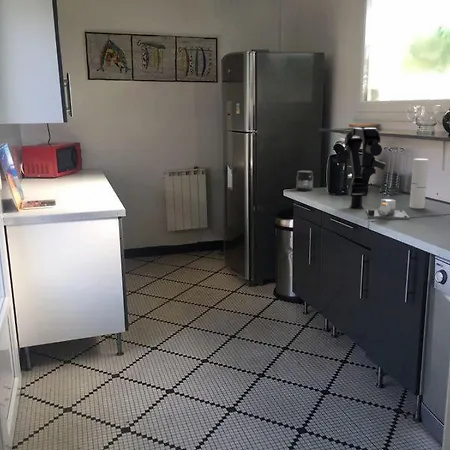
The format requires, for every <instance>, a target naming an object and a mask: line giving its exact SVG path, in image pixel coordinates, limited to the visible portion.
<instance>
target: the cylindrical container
mask: <svg viewBox="0 0 450 450" xmlns="http://www.w3.org/2000/svg"><path fill="white" fill-rule="evenodd" d="M429 160H430V159H428V158H413V161H412V162H413V163H412V174H411V185H410V186H411V187H410V195H409V196H410V197H409V208H411V209H418V210H419V209H424V208H425V202H426V191H427V182H428V181H427V180H428V172H429V171H428V170H429Z"/></svg>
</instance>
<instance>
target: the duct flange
mask: <svg viewBox="0 0 450 450" xmlns="http://www.w3.org/2000/svg"><path fill="white" fill-rule="evenodd" d="M365 212H366V214H367V216H368V219H380V218H382V219H384V220H386V219H387V220H407V219H409V220H410V216H409V215H408V214H407V213H406V211H405V210H402V209H400V210H396V209H395V214H387V215H386V216H381V215H379V214H378V209H370V208H368V209H365Z"/></svg>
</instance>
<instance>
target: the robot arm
mask: <svg viewBox="0 0 450 450" xmlns="http://www.w3.org/2000/svg"><path fill="white" fill-rule="evenodd" d="M343 144H344V147H345V150H346V152H347V153H348V154H349V158H350V166H351V173H352V180H351V182H350V185H349V188H348V190H347V196H350V197H351V199H350V201H351V203H350V205H349V207H350V209H364V205H363V201H364V199H363V198H364V197H367V196H368V192H369V182H370V179H371V177H372V175H374V174H375V175H376V173H377V169H376V168H378V169H380V170H382V171H384V170H385V168H386V166H387V163H385V162H384V161H383V159H381V158H379V159H376V157H378V156H380V155H381V153H382V152H383V148H382V145H381V136H380V133H379V130H378V129H377V128H376V127H353V128H352V129H351V131H350V132H348V133H347V134H346V135H345V138H344V140H343ZM361 147H362V148H361ZM360 149H362V153H361V158H360Z"/></svg>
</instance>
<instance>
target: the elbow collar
mask: <svg viewBox="0 0 450 450" xmlns="http://www.w3.org/2000/svg"><path fill="white" fill-rule="evenodd" d="M379 201H380V202H379V207H378V208H377V210H378V214H379V215H381V216H386V215H387V214H395V210H396V202H397V200H395V199H389V198H383V199H380V200H379Z"/></svg>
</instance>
